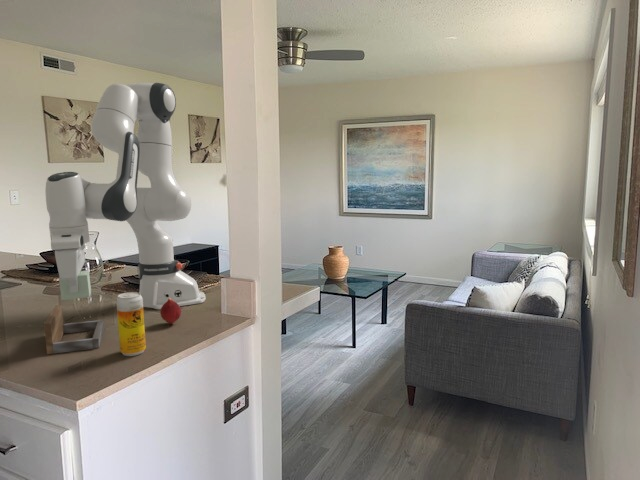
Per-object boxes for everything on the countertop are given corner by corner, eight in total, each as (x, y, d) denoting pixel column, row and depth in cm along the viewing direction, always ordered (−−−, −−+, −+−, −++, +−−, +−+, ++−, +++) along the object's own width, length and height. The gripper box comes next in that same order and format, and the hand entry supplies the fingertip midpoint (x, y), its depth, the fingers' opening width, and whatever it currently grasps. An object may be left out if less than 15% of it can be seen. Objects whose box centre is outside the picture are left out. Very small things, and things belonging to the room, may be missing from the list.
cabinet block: (91, 291, 131) (88, 264, 129) (89, 297, 126) (86, 269, 125) (64, 294, 129) (61, 267, 127) (61, 300, 124) (58, 271, 123)
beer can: (130, 358, 119) (126, 299, 116) (115, 353, 122) (110, 296, 119) (151, 350, 124) (147, 293, 121) (135, 345, 127) (131, 290, 124)
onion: (185, 321, 145) (184, 296, 144) (173, 328, 140) (172, 301, 139) (169, 319, 147) (167, 294, 146) (157, 326, 142) (155, 299, 141)
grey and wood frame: (104, 327, 141) (102, 301, 139) (99, 347, 126) (96, 318, 124) (58, 332, 137) (55, 305, 135) (47, 354, 122) (43, 323, 120)
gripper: (62, 230, 133) (68, 279, 136) (49, 244, 114) (56, 300, 117) (87, 229, 135) (93, 276, 138) (78, 242, 116) (85, 297, 119)
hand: (76, 288), depth 127 cm, fingers closed on cabinet block, 5 cm apart
